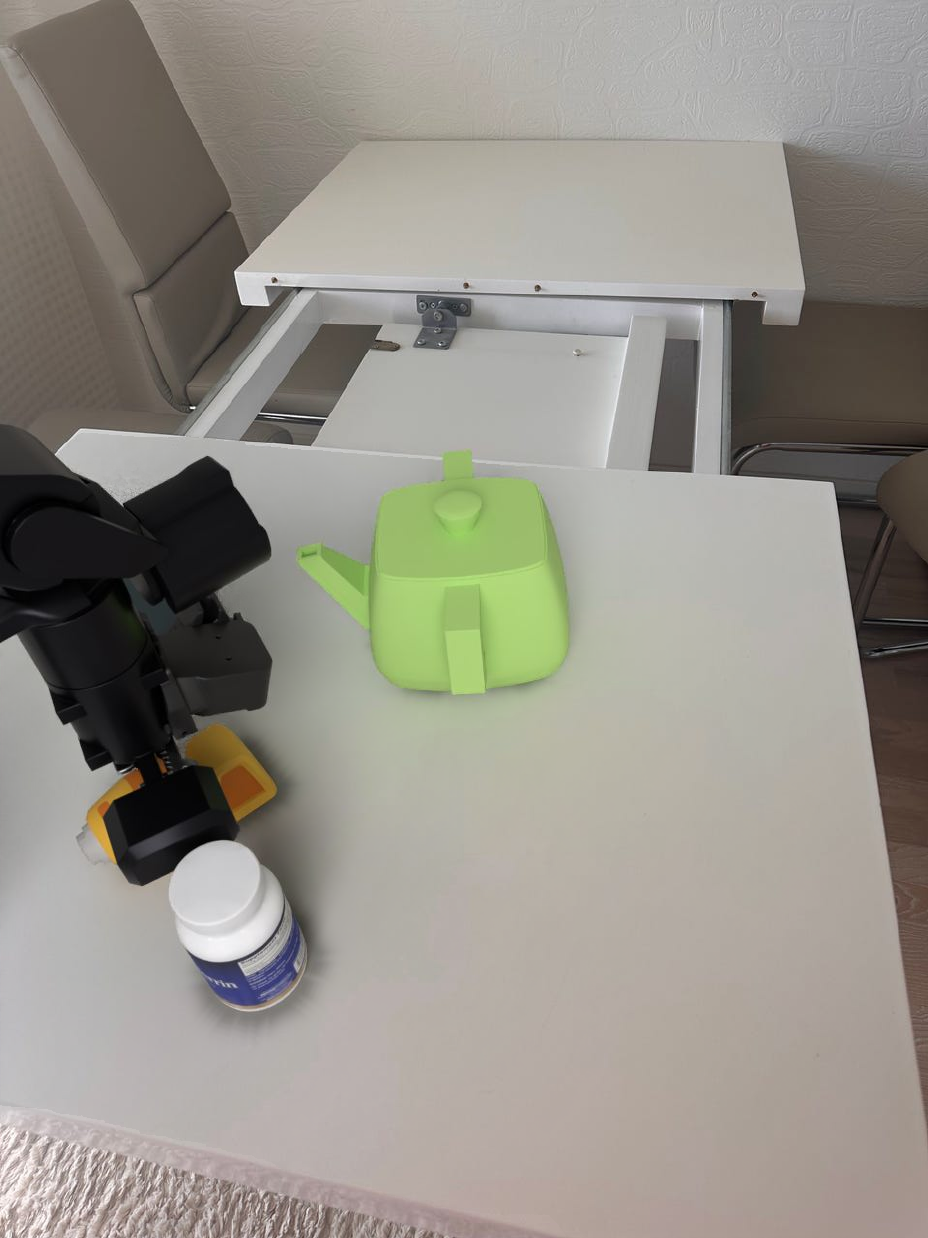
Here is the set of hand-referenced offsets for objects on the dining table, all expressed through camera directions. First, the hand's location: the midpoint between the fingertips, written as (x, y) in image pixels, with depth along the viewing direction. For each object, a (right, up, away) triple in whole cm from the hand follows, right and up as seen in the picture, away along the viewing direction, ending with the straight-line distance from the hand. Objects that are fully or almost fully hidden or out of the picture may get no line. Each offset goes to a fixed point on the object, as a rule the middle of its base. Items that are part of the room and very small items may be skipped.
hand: (180, 812), depth 61 cm
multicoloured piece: (0, -1, +1) cm, 1 cm away
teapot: (+17, +11, +10) cm, 23 cm away
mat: (-7, +13, +15) cm, 21 cm away
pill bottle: (+7, -8, -7) cm, 12 cm away
